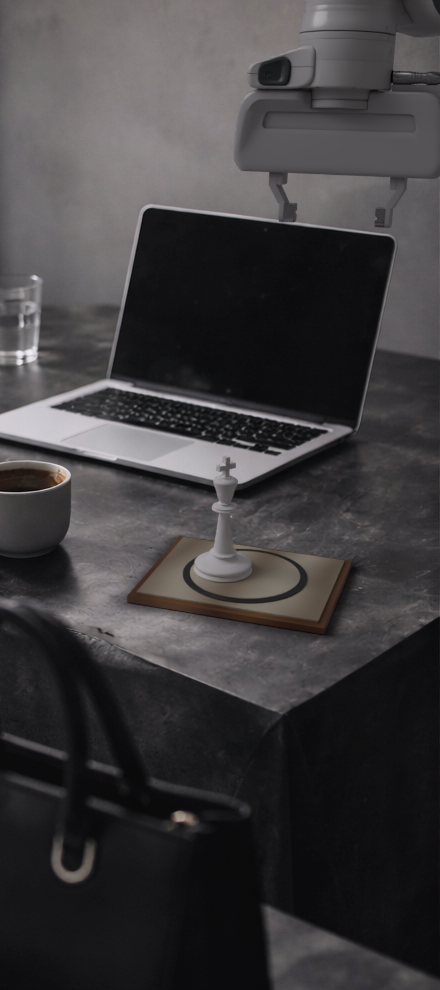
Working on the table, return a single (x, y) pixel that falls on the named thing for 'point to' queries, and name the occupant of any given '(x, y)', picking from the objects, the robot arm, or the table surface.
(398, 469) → the table surface
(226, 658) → the table surface
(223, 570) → the chess piece
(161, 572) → the wooden board
